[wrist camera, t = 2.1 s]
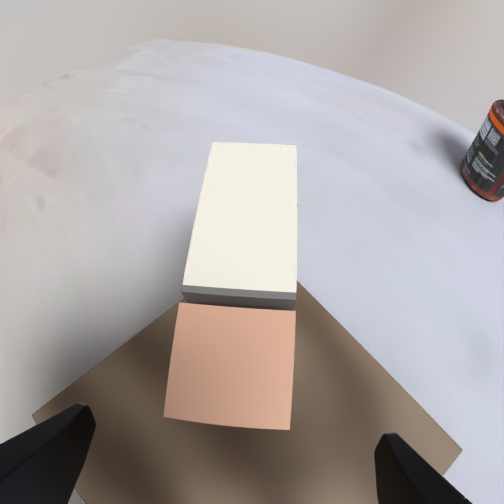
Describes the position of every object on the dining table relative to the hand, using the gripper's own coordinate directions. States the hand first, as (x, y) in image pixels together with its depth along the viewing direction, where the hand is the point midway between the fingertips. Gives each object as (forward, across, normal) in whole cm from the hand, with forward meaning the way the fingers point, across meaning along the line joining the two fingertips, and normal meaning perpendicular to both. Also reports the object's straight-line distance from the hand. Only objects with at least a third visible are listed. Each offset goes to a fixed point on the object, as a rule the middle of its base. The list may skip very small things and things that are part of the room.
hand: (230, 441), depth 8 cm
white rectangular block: (+11, 0, +1) cm, 11 cm away
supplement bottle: (+22, -23, -8) cm, 33 cm away
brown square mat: (+5, 0, +9) cm, 10 cm away
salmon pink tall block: (+7, 0, +5) cm, 9 cm away
